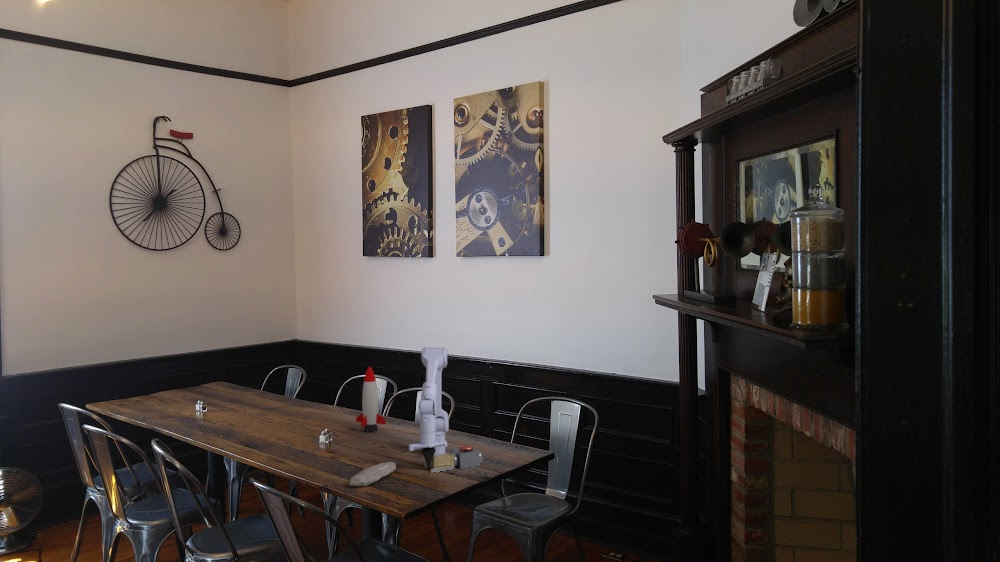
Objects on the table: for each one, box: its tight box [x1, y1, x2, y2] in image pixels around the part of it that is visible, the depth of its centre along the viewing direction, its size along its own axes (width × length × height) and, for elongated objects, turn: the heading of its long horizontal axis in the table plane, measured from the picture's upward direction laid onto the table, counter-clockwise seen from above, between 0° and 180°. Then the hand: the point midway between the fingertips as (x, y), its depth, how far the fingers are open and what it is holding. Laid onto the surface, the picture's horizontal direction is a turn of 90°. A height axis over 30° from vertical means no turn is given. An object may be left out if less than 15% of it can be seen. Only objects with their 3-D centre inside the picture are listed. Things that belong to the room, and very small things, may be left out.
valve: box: [424, 443, 484, 474], centre depth 265 cm, size 8×22×7 cm, turn 114°
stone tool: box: [348, 461, 397, 487], centre depth 252 cm, size 12×5×25 cm
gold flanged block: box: [429, 452, 455, 470], centre depth 263 cm, size 5×8×5 cm, turn 114°
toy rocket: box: [355, 366, 387, 433], centre depth 325 cm, size 11×11×30 cm
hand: (428, 467), depth 261 cm, fingers closed
